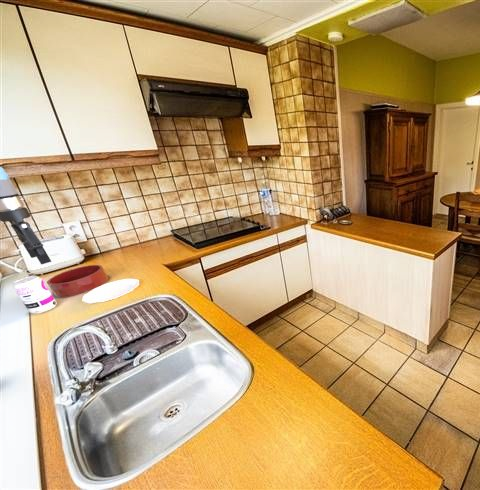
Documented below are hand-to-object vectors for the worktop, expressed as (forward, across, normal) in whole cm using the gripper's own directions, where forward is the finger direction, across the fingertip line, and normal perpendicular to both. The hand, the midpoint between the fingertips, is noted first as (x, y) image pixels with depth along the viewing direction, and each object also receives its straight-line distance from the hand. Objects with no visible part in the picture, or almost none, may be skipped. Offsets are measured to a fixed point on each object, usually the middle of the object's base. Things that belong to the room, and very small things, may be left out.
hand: (41, 259), depth 107 cm
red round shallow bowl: (+25, +23, -10) cm, 36 cm away
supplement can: (+25, +13, +6) cm, 29 cm away
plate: (+25, -1, -15) cm, 29 cm away
